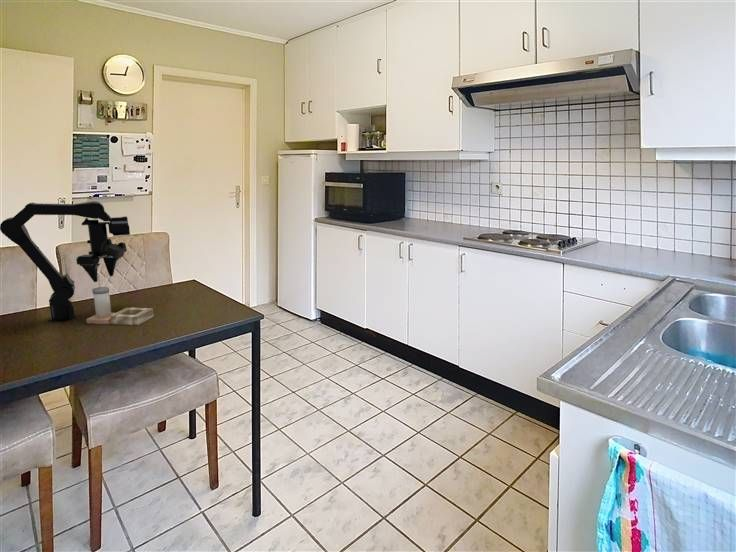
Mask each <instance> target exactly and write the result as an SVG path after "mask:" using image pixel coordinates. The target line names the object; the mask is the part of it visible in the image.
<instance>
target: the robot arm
mask: <svg viewBox="0 0 736 552" xmlns="http://www.w3.org/2000/svg"><path fill="white" fill-rule="evenodd" d="M38 215H39V216H78V217H82V218H84V221H82V222H81V226H87V229H88V235H89V238H88V240H86V243H87V244H90V250H89V251H88V254H81V255H79V256H77V257H76V265H77V266H78V265H79V267H82V269H84V271H85V272H86V274H88V276H89V277H90V279H91V280H92V281H93V282H94V283H98V278H99V277H98V268H99V266H100V265H101V263H100V260H101V259H103V262H104V264H105V268H106V270H107V273H108V275H109V277H114V274H115V269H116V265H117V262H118V261H119V260H120V259H122V257H124V255H125V253H126V252H127V251H128V250H127V245H126V243H125V242H122V241H121V242H118V243H113V242H112V239H111V238H108V237H109V236H108V232H109V234H111V235H112V237H116V236H117V237H119V236H130V235H131V232H130V224H129V221H128V216H121V217H119V216H118V217H117V216H116V217H111V215H110V214H108V213H107V212H106V211H105V207H104V205H103V204H102V203H101V202H100V201H98V200H97V201H95V200H92V201H85V202H80V203H37V202H29V203H27V204H26V205H25V206H24V207H23V208H22V209H21V210H20V211H19V212H18V213H16V214H15V215H14V216H12V217H9V218H6V219H5V220H3V221H1V223H0V232H1V233H2V234H3V235H4V236H5V237H6V238H8V240H9V241H11V242H13V243H14V244H16V245H17V246H19V247H20V248H21V250H22V251H23V252H24V253H25V255H26V256H27V257H28V258H29V259H30V260H31V261H32V262H33V264H34V265H35V266H36V267H37V268H38V269H39V271H40V272H41V274H43V276H44V277H45V278H46V279H47V280H48V281H47V282H49V286H50V287H51V290H52V291H53V292H52V293H51V294H50V297H49V300H48V302H49V303H48V305H49V311H50V318H48V320H47V321H48V322H63V323H64V322H67V321H69V320H71V319H73V318H76V317H77V314H75V309H74V305H73V302H72V300H70V299H71V298H72V297H73V296H74V295H75V290H76V285H75V280H72V278H71V277H70V274H69V273H65V274H62V273H61V272H60V271H58V270H57V268H56V267H55V265H54V264H53V263H51V261H50V259H48V257H47V256H46V255H45V254H44V253H43V251H42V250H41V249H40V248H39V247H38V246H37V244H36V243H35V241H33V239H32V238H31V236H30V233H29V231H28V229H27V227H26V225H25V224H26V223H27V222H29V221H30V220H31V219H32V218H33V217H34V216H38ZM99 220H101V221H99ZM107 226H108V227H107ZM107 230H108V231H107Z"/></svg>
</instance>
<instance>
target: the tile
mask: <svg viewBox="0 0 736 552" xmlns="http://www.w3.org/2000/svg"><path fill="white" fill-rule="evenodd" d="M115 313H116V312H111V314H112V315H113V314H115ZM85 321H86V324H98V325H101V324H102V325H109V324H111V320H110V317H106V318H97V317H96V314H94V315H92V316H90V317H88V318H86V319H85Z"/></svg>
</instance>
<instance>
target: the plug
mask: <svg viewBox="0 0 736 552" xmlns="http://www.w3.org/2000/svg"><path fill="white" fill-rule="evenodd" d="M91 290H92V291H91V292H92V294H93V302H94V309H95V310H94V311H95V315H96V317H97V318H106V317H110V316H111V315H112V314H111V313H112V306H111V297H110V287H107V286H100V287H99V286H98V287H95V288H92V289H91Z"/></svg>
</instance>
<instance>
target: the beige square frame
mask: <svg viewBox="0 0 736 552" xmlns="http://www.w3.org/2000/svg"><path fill="white" fill-rule="evenodd" d="M114 313H115V314H113V315H111V316H110V320H111V323H110V325H121V326H139V325H142V323H145V322H147V321H148V320H150V319H152V318H153V317H154V308H149V307H148V308H145V307H125V308H123V309H121V310H119V311H117V312H114Z"/></svg>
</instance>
